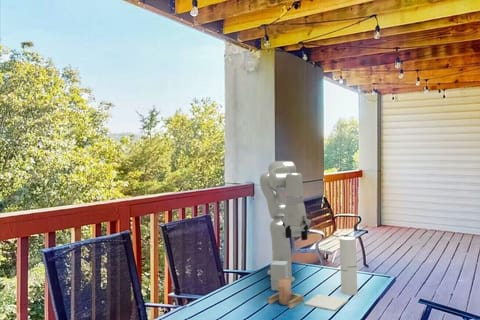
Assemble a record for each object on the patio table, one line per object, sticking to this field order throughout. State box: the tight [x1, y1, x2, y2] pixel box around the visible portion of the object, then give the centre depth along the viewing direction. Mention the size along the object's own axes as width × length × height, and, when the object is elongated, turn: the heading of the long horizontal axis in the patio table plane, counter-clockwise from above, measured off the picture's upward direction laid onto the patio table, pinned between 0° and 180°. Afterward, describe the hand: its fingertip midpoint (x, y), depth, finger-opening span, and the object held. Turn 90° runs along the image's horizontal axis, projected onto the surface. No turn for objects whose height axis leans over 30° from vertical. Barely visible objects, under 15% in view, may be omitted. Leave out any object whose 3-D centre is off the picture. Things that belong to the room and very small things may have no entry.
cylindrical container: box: [339, 236, 358, 296], centre depth 182 cm, size 7×7×25 cm
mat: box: [303, 293, 349, 312], centre depth 170 cm, size 14×14×1 cm
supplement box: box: [269, 260, 288, 292], centre depth 191 cm, size 7×7×13 cm
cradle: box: [267, 291, 304, 310], centre depth 172 cm, size 11×11×2 cm
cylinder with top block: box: [278, 278, 292, 306], centre depth 171 cm, size 5×6×10 cm
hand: (296, 238), depth 176 cm, fingers open, 9 cm apart
